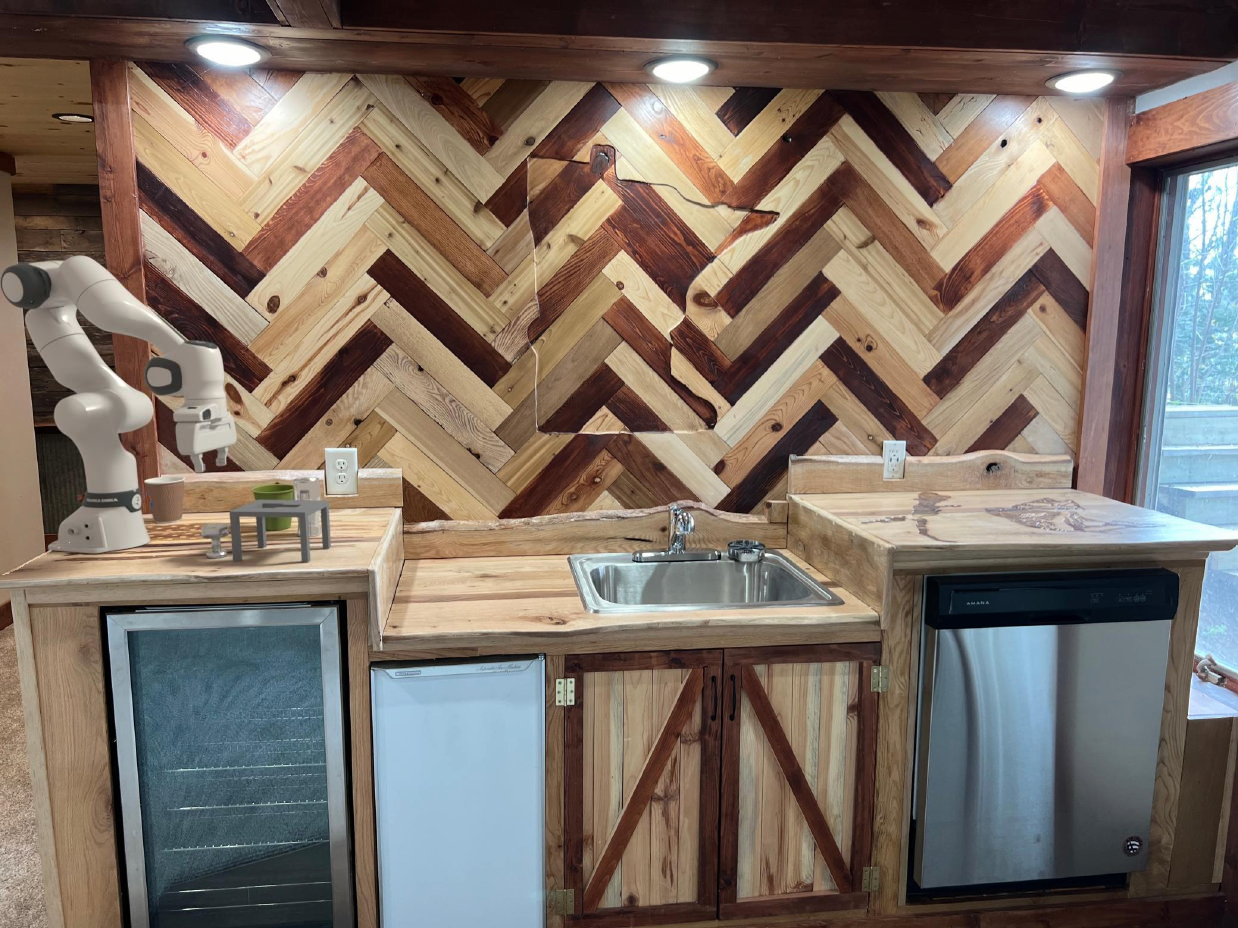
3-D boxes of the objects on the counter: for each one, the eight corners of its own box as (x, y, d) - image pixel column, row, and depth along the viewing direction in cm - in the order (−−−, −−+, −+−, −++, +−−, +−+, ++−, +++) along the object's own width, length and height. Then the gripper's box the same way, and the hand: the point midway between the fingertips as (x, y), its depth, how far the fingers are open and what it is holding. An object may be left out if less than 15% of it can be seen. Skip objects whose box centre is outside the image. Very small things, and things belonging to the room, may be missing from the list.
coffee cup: (156, 517, 246) (153, 476, 245) (194, 516, 247) (190, 476, 246) (141, 525, 236) (137, 483, 234) (179, 524, 237) (176, 482, 236)
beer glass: (327, 531, 229) (324, 477, 226) (316, 538, 222) (312, 481, 220) (302, 531, 230) (299, 476, 227) (290, 537, 223) (287, 481, 220)
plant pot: (245, 532, 228) (242, 491, 226) (268, 522, 240) (265, 483, 238) (286, 533, 227) (284, 492, 225) (307, 523, 238) (305, 484, 237)
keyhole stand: (233, 561, 199) (229, 511, 198) (260, 546, 213) (257, 499, 211) (308, 562, 199) (305, 512, 197) (331, 547, 212) (328, 500, 210)
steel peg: (198, 559, 201) (195, 528, 200) (211, 553, 207) (209, 522, 206) (222, 560, 201) (220, 528, 199) (235, 553, 207) (233, 523, 205)
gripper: (216, 406, 209) (220, 462, 211) (168, 414, 189) (174, 475, 191) (241, 406, 208) (245, 462, 211) (196, 414, 188) (201, 475, 190)
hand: (211, 468), depth 200 cm, fingers open, 8 cm apart
